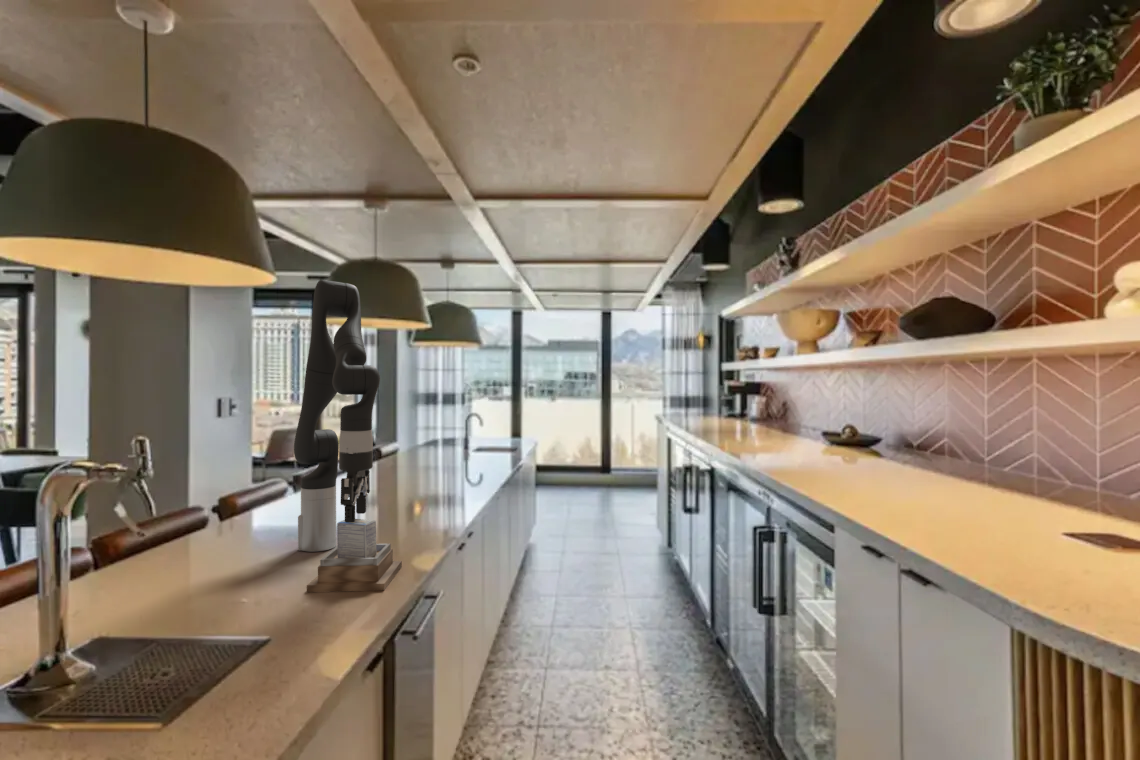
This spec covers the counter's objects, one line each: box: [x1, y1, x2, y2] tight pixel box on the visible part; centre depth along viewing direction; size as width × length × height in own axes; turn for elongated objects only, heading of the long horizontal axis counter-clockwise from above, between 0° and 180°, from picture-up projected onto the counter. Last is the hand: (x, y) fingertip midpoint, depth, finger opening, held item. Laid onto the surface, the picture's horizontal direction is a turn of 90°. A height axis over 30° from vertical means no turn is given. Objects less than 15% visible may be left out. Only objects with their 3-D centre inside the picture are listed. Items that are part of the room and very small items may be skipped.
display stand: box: [306, 543, 403, 593], centre depth 142 cm, size 17×17×6 cm
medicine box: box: [336, 518, 377, 558], centre depth 142 cm, size 8×4×9 cm, turn 74°
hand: (355, 517), depth 142 cm, fingers open, 8 cm apart
